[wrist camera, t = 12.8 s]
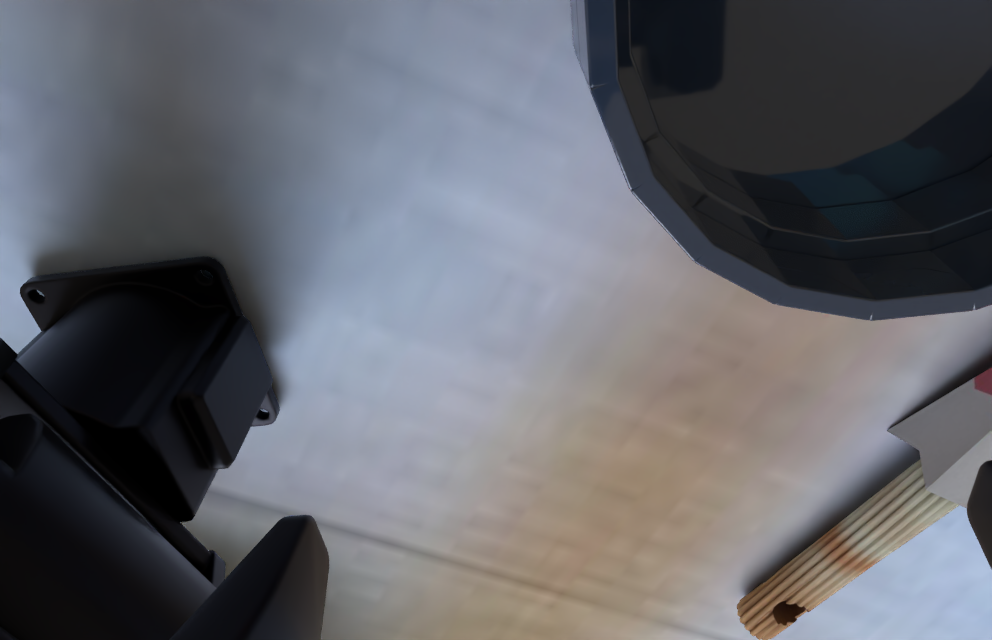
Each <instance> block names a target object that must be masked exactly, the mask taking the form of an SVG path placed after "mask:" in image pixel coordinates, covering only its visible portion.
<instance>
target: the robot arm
mask: <svg viewBox="0 0 992 640" xmlns="http://www.w3.org/2000/svg"><path fill="white" fill-rule="evenodd" d="M201 270H206V271H208V272H210V274H211V275H212V277H213V278H208V277H206V276H204V275H203V273H202V272H201ZM37 290H38V291H40V292H42V293H43V294H44V296H45V297H44V296H42V295H40V294H39V293H38V292H37ZM20 294H21V297H22V299H23V301H24V302H25V304H26V306H27V307H28V309H29V311H30V313H31V314H32V316H33V318H34V319H35V321H36V323H37V324H38V326H39V328H40V329H41V331H42V332H41V333H39V334H38V335H37V336H36V337H35V338H34V339H33V340H32V341H31V342H30V343H29V344H28V345H27V346H26V347H25V348H23V349H22V350H21V351H20V352H19V353H18V354H16V353H15V352H14V351H13V350H12V349H11V348H10V347H9V346H8V345H7V344H6V343H5V342H4V341H3V340H2V339H1V338H0V640H320V639H321V630H322V622H323V614H324V606H325V598H326V590H327V582H328V573H329V555H328V551H327V548H326V546H325V543H324V541H323V539H322V536H321V534H320V531H319V529H318V526H317V524H316V522H315V520H314V518H313V517H312V516H310V515H299V516H287V517H284V518H282V519H281V520H279V521H278V522H277V523H276V524H275V525H274V526H273V528H272V529H271V530H270V531H269V532H268V533H267V534H266V535H265V536H264V537H263V538H262V539H261V541H260V542H259V543H258V544H257V545H256V546H255V547H254V548H253V549H252V550H251V551H250V553H249V554H248V555H247V556H246V557H245V558H244V559H243V560H242V561H241V562H240V563H239V564H238V566H237V567H236V568H235V569H234V570H233V571H232V572H231V573H230V574H229V575H228V576H227V577H226V579H225V566H226V564H225V562H224V561H223V560H222V559H221V558H220V557H219V556H218V555H217V554H216V553H215V552H214V551H213V550H210V551H208V550H207V549H206V548H205V547H204V546H203V545H202V544H201V543H200V542H199V541H198V540H197V539H196V538H195V537H194V536H193V535H192V534H191V533H190V532H189V531H188V530H187V529H186V528H185V527H184V526H183V525H182V524H181V523H180V522H187V521H190V520H192V519H193V518H194V516H195V514H196V512H197V510H198V508H199V506H200V504H201V502H202V500H203V498H204V496H205V494H206V493H207V491H208V489H209V487H210V485H211V483H212V481H213V479H214V477H215V475H216V473H217V471H218V469H225V468H229V467H230V465H231V464H232V463H233V461H234V460H235V458H236V456H237V454H238V452H239V450H240V448H241V446H242V444H243V442H244V440H245V437H246V435H247V433H248V431H249V429H250V427H252V426H263V425H269V424H272V423H273V422H274V421H275V420H276V418H277V415H278V413H279V411H280V407H279V404H278V401H277V399H276V396H275V394H274V391H273V389H272V386H271V384H272V382H273V378H272V376H271V373H270V370H269V368H268V365H267V363H266V360H265V358H264V355H263V353H262V350H261V348H260V345H259V343H258V340H257V338H256V335H255V333H254V330H253V328H252V325H251V322H250V321H249V320H248V319H247V318H246V317H245V316H243V314H242V311H241V309H240V306H239V304H238V301H237V299H236V296H235V294H234V291H233V289H232V286H231V284H230V281H229V279H228V276H227V274H226V271H225V269H224V267H223V266H222V264H221V263H220V262H218V261H217V260H216V259H213V258H211V257H196V258H187V259H179V260H170V261H162V262H153V263H145V264H136V265H128V266H119V267H111V268H103V269H94V270H86V271H77V272H69V273H60V274H52V275H43V276H36V277H33V278H31V279H30V280H28V281H27V282H26V283H25V284H23V286H22V287H21V288H20ZM260 409H264V410H266V411H268V412H263V411H261V410H260ZM967 515H968V518H969V521H970V524H971V526H972V528H973V530H974V533H975V535H976V537H977V539H978V541H979V543H980V545H981V548H982V550H983V552H984V554H985V556H986V558H987V560H988V562H989V565H990V567H991V569H992V460H989V461H986V462H984V463H983V464H982V465H981V466H980V468H979V470H978V473H977V476H976V479H975V482H974V485H973V488H972V490H971V493H970V496H969V499H968V503H967Z"/></svg>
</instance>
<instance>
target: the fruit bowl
mask: <svg viewBox="0 0 992 640" xmlns="http://www.w3.org/2000/svg"><path fill="white" fill-rule="evenodd" d="M570 6H571V20H572V34H573V46H574V49H575V53H576V56H577V58H578V61H579V63H580V66H581V69H582V71H583V74H584V76H585V79H586V81H587V84H588V86H589V89H590V92H591V94H592V97H593V99H594V102H595V104H596V107H597V109H598V112H599V114H600V117H601V119H602V122H603V124H604V127H605V129H606V132H607V134H608V137H609V139H610V142H611V144H612V147H613V149H614V152H615V154H616V157H617V159H618V162H619V165H620V167H621V170H622V172H623V175H624V177H625V180H626V182H627V185H628V187H629V189H630V190H631V192H632V194H633V195H634V196H635V197H636V198H637V199H638V200H639V201H640V203H641V204H642V205H643V206H644V207H645V208H646V209H647V210H648V211H649V213H650V214H651V215H652V216H653V217H654V218H655V219H656V220H657V221H658V223H659V224H660V225H661V226H662V227H663V228H664V229H665V230H666V232H667V233H668V234H669V235H670V236H671V237H672V238H673V239H674V240H675V242H676V243H677V244H678V245H679V246H680V247H681V248H682V249H683V250H684V252H685V253H686V254H687V255H688V256H689V257H690V258H691V259H692V260H693V261H695V263H697V264H698V265H700V266H702V267H704V268H706V269H708V270H710V271H712V272H714V273H716V274H717V275H719V276H721V277H723V278H725V279H727V280H729V281H731V282H733V283H734V284H736V285H738V286H740V287H742V288H744V289H746V290H748V291H750V292H751V293H753V294H755V295H757V296H759V297H761V298H763V299H765V300H767V301H769V302H770V303H772V304H777V305H780V306H786V307H792V308H798V309H804V310H810V311H816V312H821V313H827V314H833V315H839V316H845V317H851V318H857V319H863V320H871V321H874V320H884V319H894V318H904V317H914V316H925V315H935V314H945V313H955V312H965V311H972V310H977V309H980V308H983V307H986V306H989V305H992V0H570Z"/></svg>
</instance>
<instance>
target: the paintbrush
mask: <svg viewBox="0 0 992 640" xmlns="http://www.w3.org/2000/svg"><path fill="white" fill-rule="evenodd" d="M887 431H888V432H890V433H891V434H893V435H895V436H896V437H898V438H900V439H901V440H903V441H905V442H906V443H908V444H910V445H911V446H913V447H914V448H916V449H918V450H919V453H920V460H918V461H917V462H916V463H914V464H913V465H912V466H910V467H909V468H908V469H906V470H905V471H904V472H903V473H901V474H900V475H899V476H898V477H896V478H895V479H894V480H893V481H891V482H890V483H889V484H888V485H886V486H885V487H884V488H882V489H881V490H880V491H879V492H877V493H876V494H875V495H874V496H872V497H871V498H870V499H869V500H867V501H866V502H865V503H864V504H862V505H861V506H860V507H859V508H857V509H856V510H855V511H854V512H852V513H851V514H850V515H848V516H847V517H846V518H845V519H843V520H842V521H841V522H840V523H838V524H837V525H836V526H835V527H833V528H832V529H831V530H830V531H828V532H827V533H826V534H825V535H823V536H822V537H821V538H820V539H818V540H817V541H816V542H815V543H813V544H812V545H811V546H809V547H808V548H807V549H806V550H804V551H803V552H802V553H800V554H799V555H798V556H797V557H795V558H794V559H793V560H791V561H790V562H789V563H787V564H786V565H785V566H784V567H782V568H781V569H780V570H778V571H777V572H776V574H775V575H773V576H772V577H771V578H770V579H768V580H767V581H766V582H765V583H762V584H760V585H759V586H758V587H757V588H755V589H754V590H753V591H751V592H750V593H749V594H748V595H746V596H745V597H744V598H742V599H741V600H740V602H739V604H738V605H737V609H738V616H740V622H741V623H743V624H744V625H745V628H746V630H748V631H750V634H751V635H752V636H756V637H757V638H758V639H759V640H760V639H763V640H768V639H771V638H773V637H775V636H776V635H777V634H779V633H780V632H781V631H783V630H784V629H786V628H787V627H788V626H790V625H791V624H793V623H794V622H795V621H796V620H797V618H798V617H800V616H801V615H802V614H804V613H805V612H809V611H811V610H812V609H814V608H815V607H816V606H818V605H819V604H820V603H822V602H823V601H825V600H826V599H827V598H829V597H830V596H831V595H833V594H834V593H836V592H837V591H838V590H840V589H841V588H843V587H844V586H845V585H847V584H848V583H849V582H851V581H852V580H854V579H855V578H856V577H858V576H859V575H861V574H862V573H863V572H865V571H866V570H867V569H869V568H870V567H872V566H873V565H874V564H876V563H877V562H879V561H880V560H882V559H883V558H885V557H886V556H887V555H889V554H890V553H892V552H893V551H895V550H896V549H898V548H899V547H900V546H902V545H903V544H905V543H906V542H908V541H909V540H910V539H912V538H913V537H915V536H916V535H918V534H919V533H920V532H922V531H923V530H925V529H926V528H928V527H929V526H930V525H932V524H933V523H935V522H936V521H938V520H939V519H940V518H942V517H943V516H945V515H946V514H948V513H949V512H950V511H952V510H953V509H955V508H956V507H958V506H959V505H960V506H963V507H965V508H967V503H968V499H969V496H970V493H971V490H972V488H973V485H974V482H975V479H976V476H977V473H978V470H979V468H980V466H981V465H982V464H983V463H984V462H986V461H989V460H992V367H991V368H990V369H988V370H986V371H985V372H983V373H981V374H980V375H978V376H976V377H975V378H973V379H971V380H970V381H968V382H966V383H965V384H963V385H961V386H960V387H958V388H956V389H955V390H953V391H951V392H950V393H948V394H947V395H945V396H943V397H942V398H940V399H938V400H937V401H935V402H933V403H932V404H930V405H928V406H927V407H925V408H923V409H922V410H920V411H918V412H917V413H915V414H913V415H912V416H910V417H908V418H907V419H905V420H903V421H902V422H900V423H899V424H897V425H895V426H894V427H892V428H890V429H889V430H887Z"/></svg>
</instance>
